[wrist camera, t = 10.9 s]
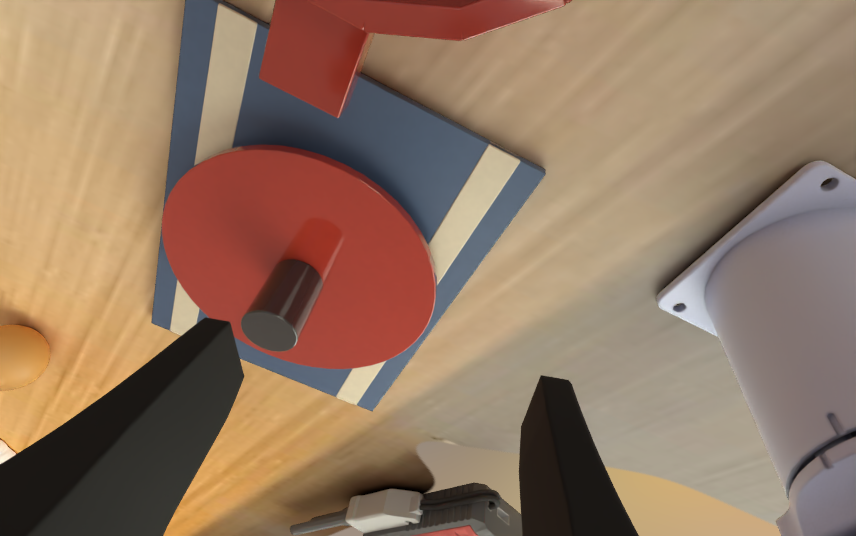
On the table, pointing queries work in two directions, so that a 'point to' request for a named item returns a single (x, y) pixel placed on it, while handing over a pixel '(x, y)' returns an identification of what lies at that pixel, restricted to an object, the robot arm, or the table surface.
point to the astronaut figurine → (5, 452)
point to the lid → (300, 256)
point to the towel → (349, 144)
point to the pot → (367, 37)
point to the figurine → (21, 356)
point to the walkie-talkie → (424, 514)
